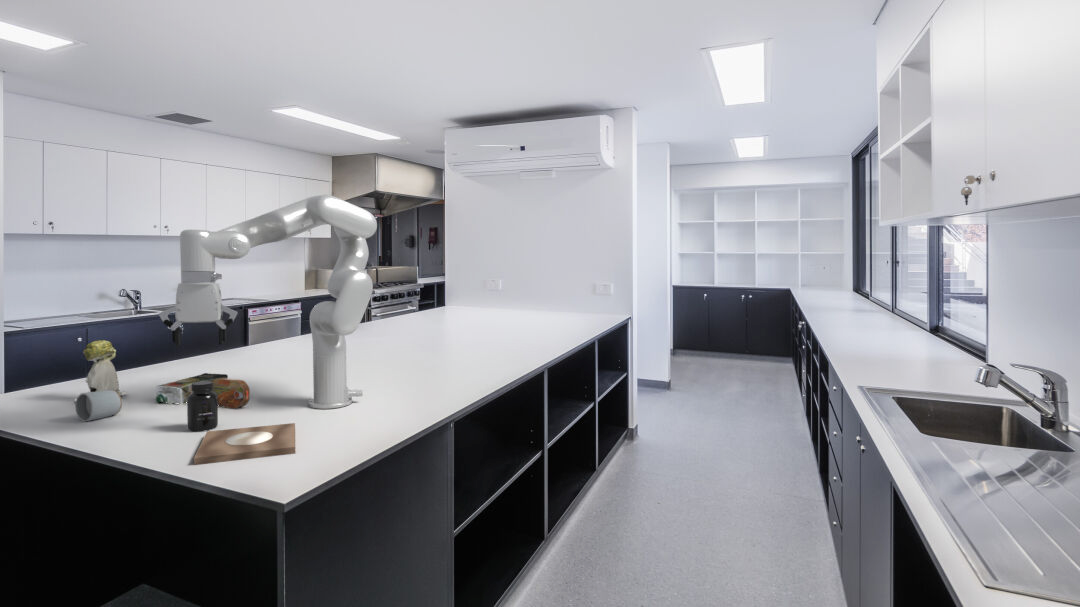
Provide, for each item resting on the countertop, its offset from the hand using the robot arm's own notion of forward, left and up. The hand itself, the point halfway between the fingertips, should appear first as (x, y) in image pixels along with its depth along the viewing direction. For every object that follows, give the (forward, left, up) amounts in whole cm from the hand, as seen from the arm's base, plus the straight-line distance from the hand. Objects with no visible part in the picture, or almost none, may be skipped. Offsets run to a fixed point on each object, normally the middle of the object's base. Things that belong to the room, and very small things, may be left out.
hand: (199, 344), depth 144 cm
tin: (-4, -22, -22) cm, 32 cm away
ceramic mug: (+28, -21, -22) cm, 42 cm away
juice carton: (+8, -39, -23) cm, 46 cm away
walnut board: (-12, +19, -22) cm, 32 cm away
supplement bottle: (0, 0, -22) cm, 22 cm away
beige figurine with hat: (+33, -44, -22) cm, 59 cm away
